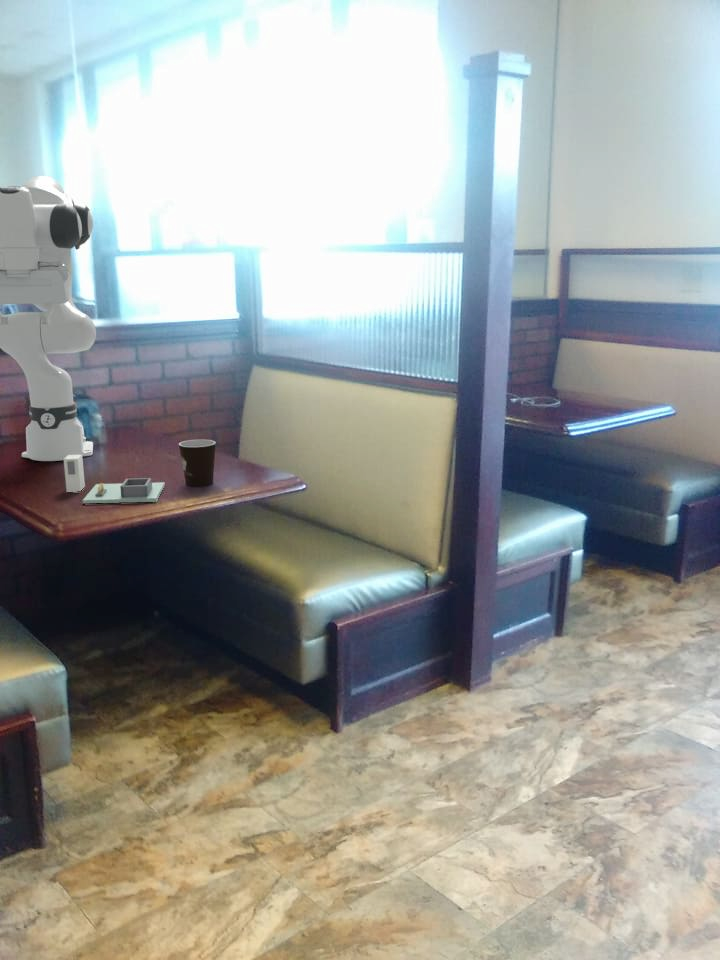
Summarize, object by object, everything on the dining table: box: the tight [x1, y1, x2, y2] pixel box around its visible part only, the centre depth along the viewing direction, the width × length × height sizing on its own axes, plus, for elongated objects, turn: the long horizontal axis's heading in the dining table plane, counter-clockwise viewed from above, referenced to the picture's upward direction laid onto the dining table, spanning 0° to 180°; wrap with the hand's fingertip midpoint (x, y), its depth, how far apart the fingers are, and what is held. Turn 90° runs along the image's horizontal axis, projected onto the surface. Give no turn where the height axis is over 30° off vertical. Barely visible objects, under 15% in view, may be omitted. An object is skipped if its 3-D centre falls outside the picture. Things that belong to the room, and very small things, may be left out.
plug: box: [63, 455, 86, 493], centre depth 204 cm, size 5×3×8 cm, turn 5°
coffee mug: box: [178, 439, 217, 488], centre depth 210 cm, size 12×9×10 cm
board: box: [82, 477, 166, 504], centre depth 200 cm, size 14×16×4 cm
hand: (25, 324), depth 199 cm, fingers open, 8 cm apart
